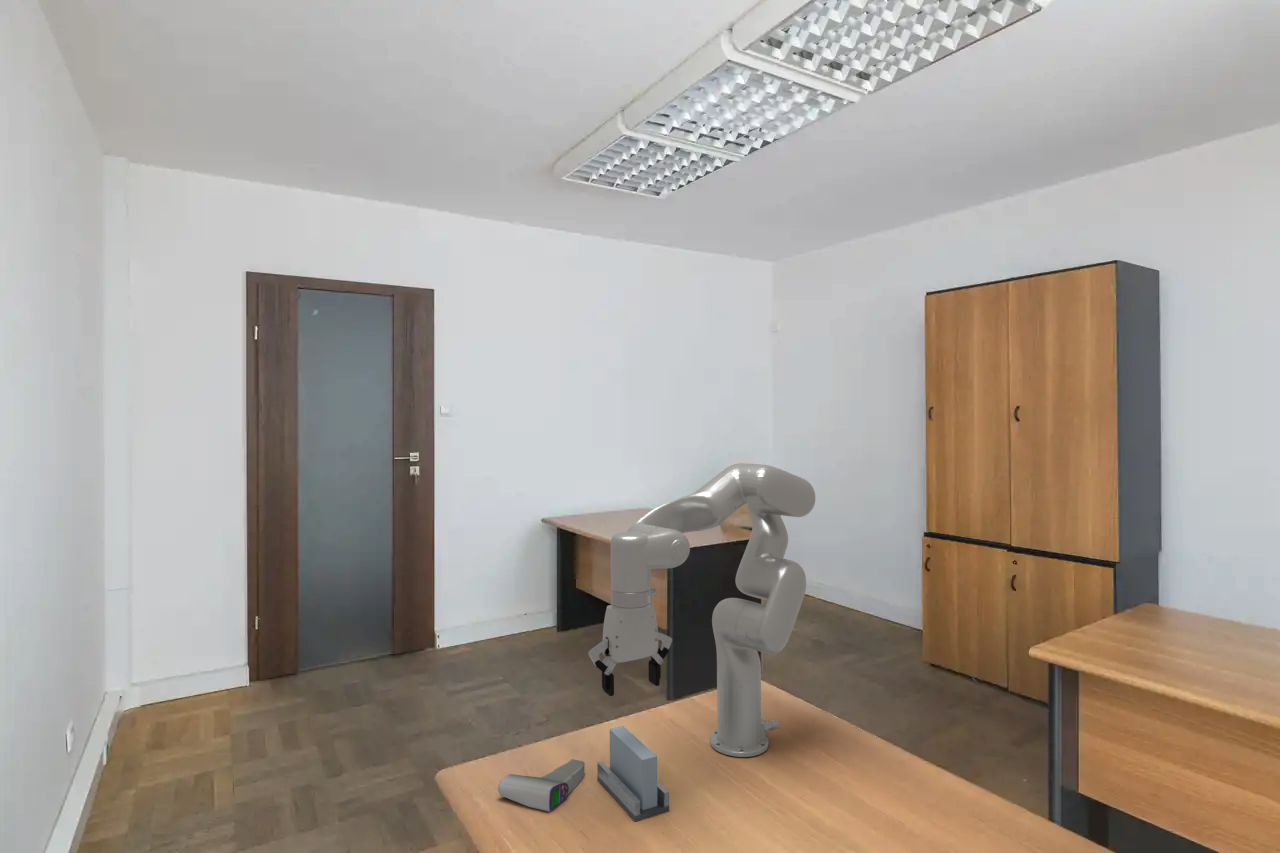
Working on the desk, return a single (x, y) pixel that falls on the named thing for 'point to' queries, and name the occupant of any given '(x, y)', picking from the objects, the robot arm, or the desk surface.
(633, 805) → the track
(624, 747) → the grey slab
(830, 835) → the desk surface
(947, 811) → the desk surface
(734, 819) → the desk surface
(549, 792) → the infrared thermometer
